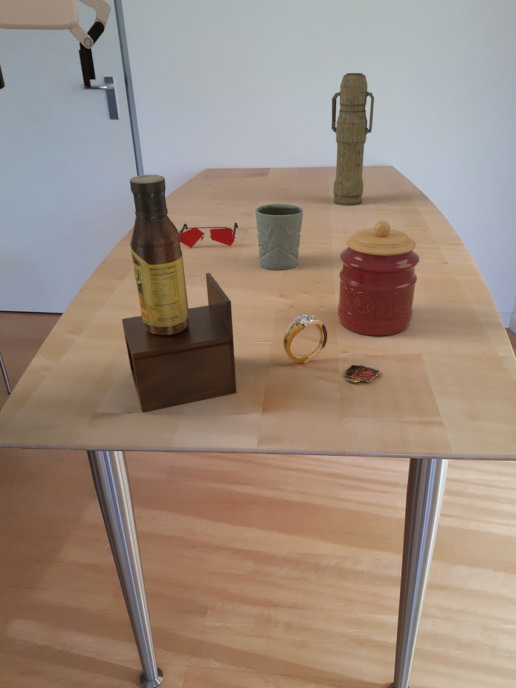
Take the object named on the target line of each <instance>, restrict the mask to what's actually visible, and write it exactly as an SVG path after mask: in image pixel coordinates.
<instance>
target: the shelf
mask: <svg viewBox="0 0 516 688" xmlns="http://www.w3.org/2000/svg"><path fill="white" fill-rule="evenodd" d="M205 280H206V293H207V303H208V305H202V306H195V307H188V311H189V314H188V319H189V325H188V326H187V327H186V328H185V329H184V330H183V331H182V332H181V333H178V334H173V335H156V334H151V333H149V332H148V331H147V330H146V328H145V324H144V321H143V320H142V315H138V316H133V317H126V318H121V323H122V329H123V335H124V339H125V346H126V350H127V351H126V352H127V357H128V363H129V367H130V369H129V370H130V374H131V378H132V380H133V384H134V388H135V392H136V395H137V399H138V403H139V406H140V410H141V413H145V412H150V411H155V410H160V409H164V408H169V407H174V406H178V405H183V404H188V403H193V402H198V401H203V400H207V399H212V398H217V397H223V396H227V395H230V394H231V395H232V394H236V393H237V379H236V378H237V377H236V375H237V374H236V360H235V346H234V345H235V343H234V342H235V341H234V330H233V329H234V328H233V327H234V326H233V312H232V311H233V310H232V301H231V299H230V298H229V296H228V295H227V294H226V292H225V291H224V289H222V287H221V286H220V285H219V283H218V282H217V280H216V279H215V278H214V276H213V275H212V274H211V272H207V273H205Z"/></svg>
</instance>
